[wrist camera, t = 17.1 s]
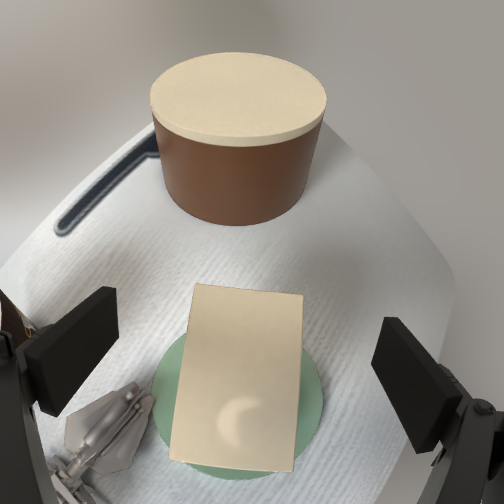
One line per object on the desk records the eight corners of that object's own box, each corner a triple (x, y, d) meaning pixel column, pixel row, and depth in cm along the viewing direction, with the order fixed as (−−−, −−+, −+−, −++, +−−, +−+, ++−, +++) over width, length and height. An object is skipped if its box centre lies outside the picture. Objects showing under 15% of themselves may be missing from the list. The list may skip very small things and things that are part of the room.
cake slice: (274, 351, 24) (304, 294, 15) (265, 452, 20) (293, 472, 10) (209, 344, 24) (195, 282, 14) (196, 445, 20) (168, 459, 10)
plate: (301, 312, 27) (304, 307, 26) (332, 460, 20) (336, 461, 19) (149, 329, 25) (145, 325, 24) (164, 483, 19) (161, 486, 18)
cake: (288, 125, 40) (300, 53, 31) (322, 219, 32) (353, 136, 23) (166, 132, 38) (157, 58, 29) (163, 233, 30) (140, 146, 21)
